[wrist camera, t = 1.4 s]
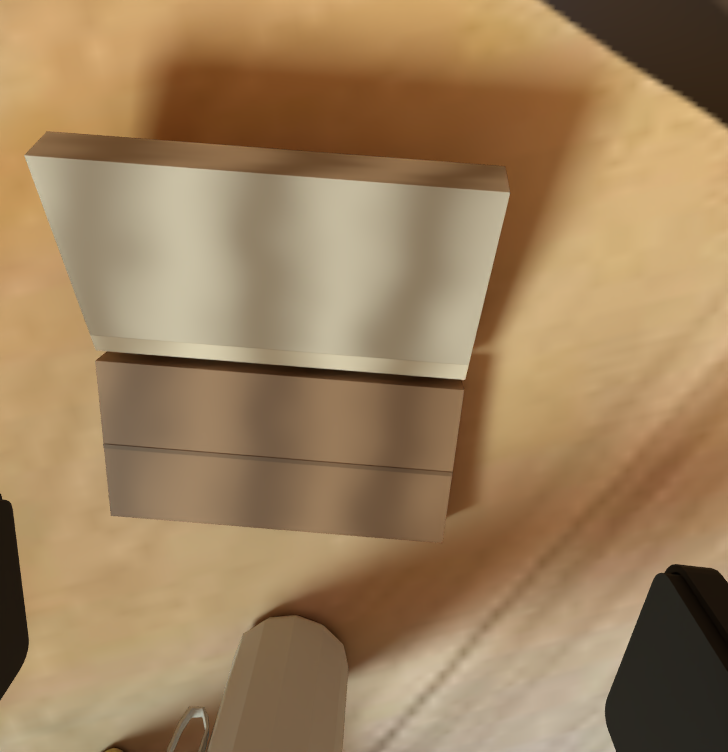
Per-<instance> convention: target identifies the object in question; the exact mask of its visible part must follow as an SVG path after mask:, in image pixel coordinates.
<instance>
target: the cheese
mask: <svg viewBox="0 0 728 752" xmlns="http://www.w3.org/2000/svg"><path fill="white" fill-rule="evenodd" d="M105 752H123V751H122V750H120V749H117V748H112V749H109V750H107V751H105Z"/></svg>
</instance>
